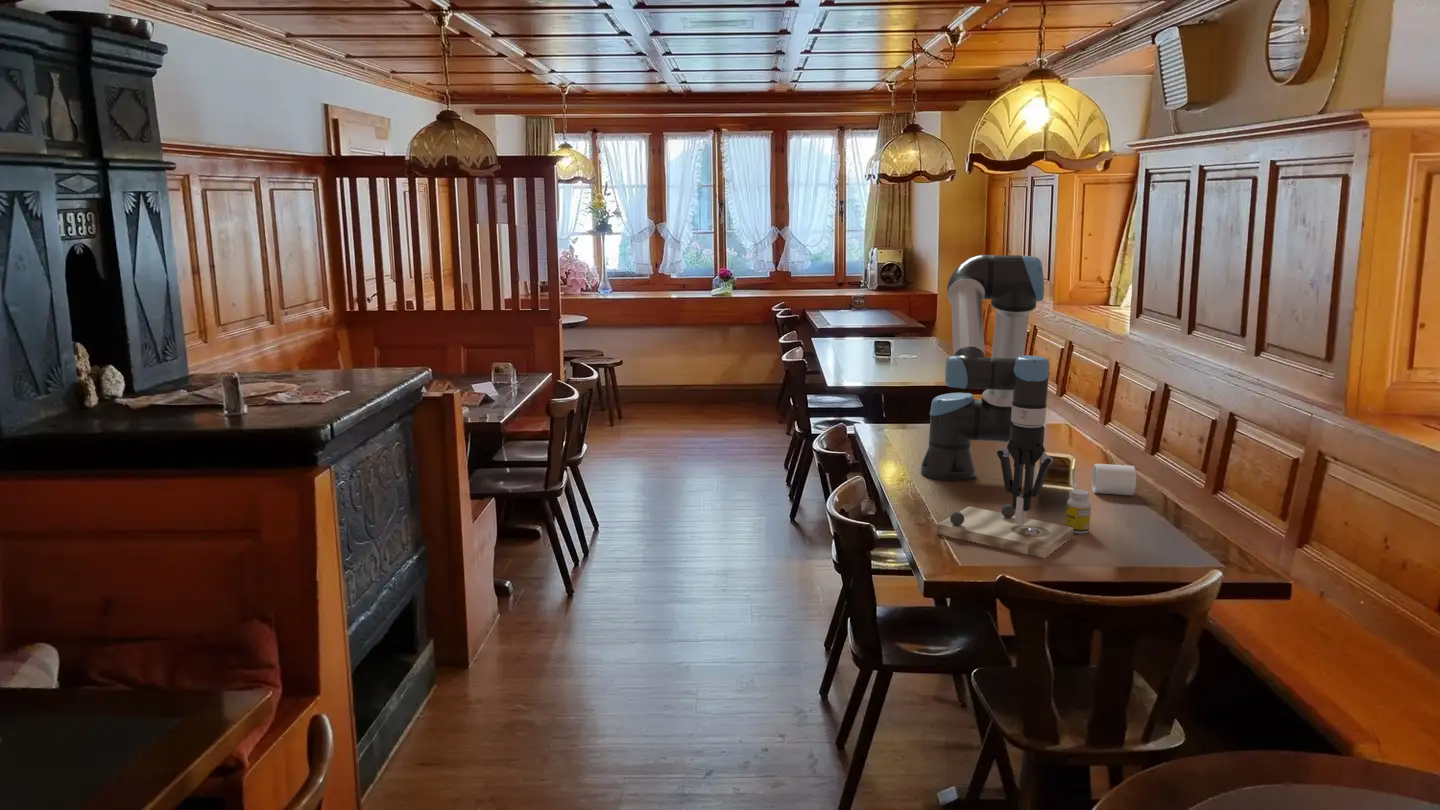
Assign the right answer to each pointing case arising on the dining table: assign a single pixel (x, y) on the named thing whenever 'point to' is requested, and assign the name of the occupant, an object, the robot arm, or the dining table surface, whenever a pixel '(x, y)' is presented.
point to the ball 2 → (1007, 511)
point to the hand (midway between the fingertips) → (1020, 523)
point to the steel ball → (1031, 531)
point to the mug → (1113, 479)
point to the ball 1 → (957, 518)
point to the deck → (1007, 532)
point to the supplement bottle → (1078, 511)
